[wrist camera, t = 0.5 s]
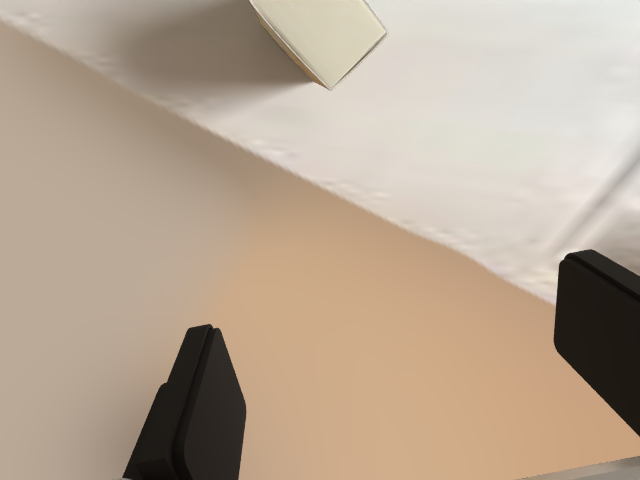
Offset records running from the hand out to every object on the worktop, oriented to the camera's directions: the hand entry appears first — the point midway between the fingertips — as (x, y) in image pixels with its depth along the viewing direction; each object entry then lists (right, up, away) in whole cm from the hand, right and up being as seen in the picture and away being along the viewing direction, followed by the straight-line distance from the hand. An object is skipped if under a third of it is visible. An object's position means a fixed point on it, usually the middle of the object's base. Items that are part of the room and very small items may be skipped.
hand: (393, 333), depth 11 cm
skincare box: (-3, +19, +20) cm, 28 cm away
